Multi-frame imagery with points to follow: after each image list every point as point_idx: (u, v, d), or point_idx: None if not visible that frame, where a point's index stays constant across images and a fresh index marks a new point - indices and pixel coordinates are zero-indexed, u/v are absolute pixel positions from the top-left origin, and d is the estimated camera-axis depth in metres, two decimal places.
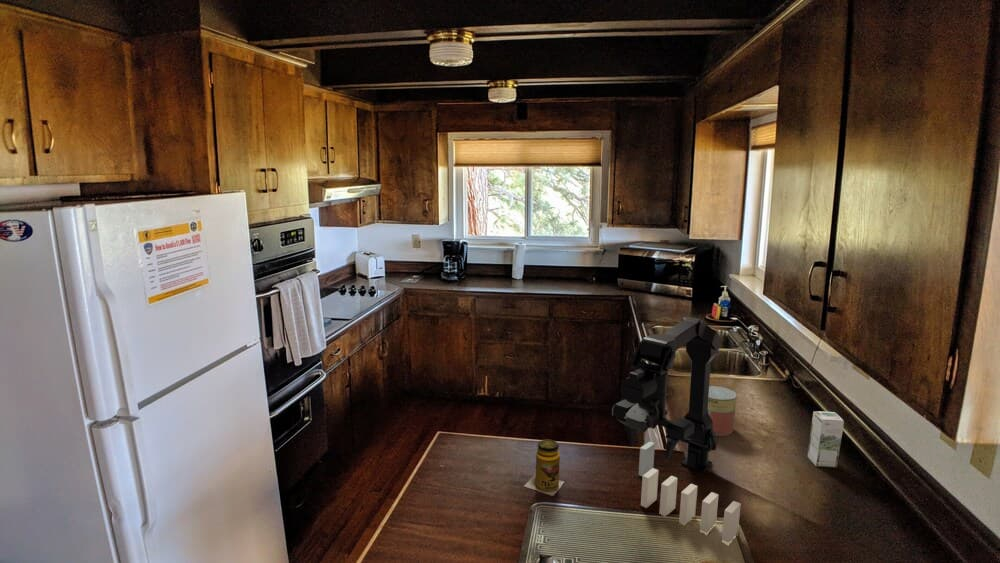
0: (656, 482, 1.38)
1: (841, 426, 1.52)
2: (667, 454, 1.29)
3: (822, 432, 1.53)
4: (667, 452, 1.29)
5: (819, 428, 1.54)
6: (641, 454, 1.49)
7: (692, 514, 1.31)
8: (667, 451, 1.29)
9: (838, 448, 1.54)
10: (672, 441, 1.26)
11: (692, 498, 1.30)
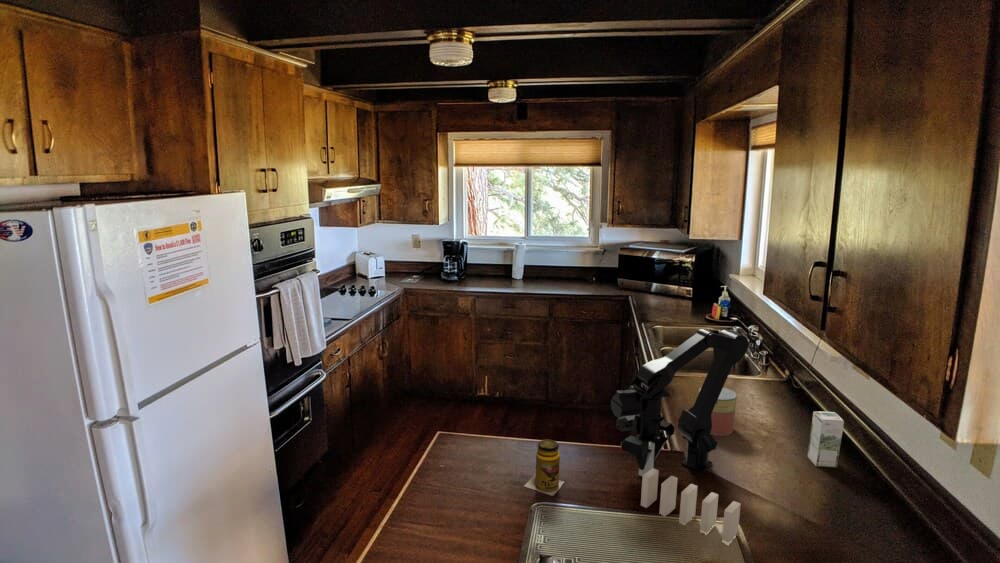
0: (656, 482, 1.38)
1: (841, 426, 1.52)
2: None
3: (822, 432, 1.53)
4: None
5: (819, 428, 1.54)
6: None
7: (692, 514, 1.31)
8: None
9: (838, 448, 1.54)
10: None
11: (692, 498, 1.30)
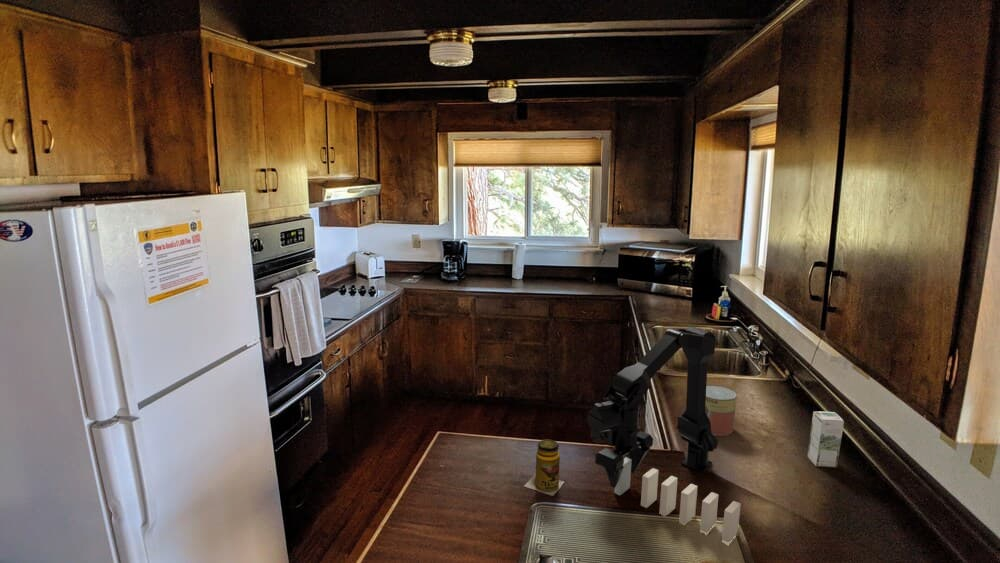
0: (656, 482, 1.38)
1: (841, 426, 1.52)
2: None
3: (822, 432, 1.53)
4: None
5: (819, 428, 1.54)
6: None
7: (692, 514, 1.31)
8: None
9: (838, 448, 1.54)
10: None
11: (692, 498, 1.30)
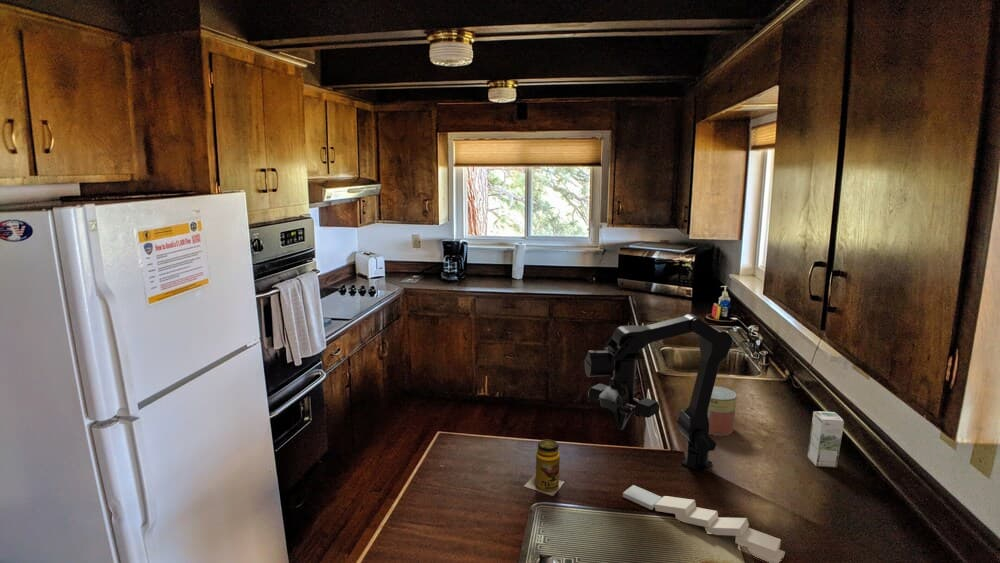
0: None
1: (841, 426, 1.52)
2: (621, 425, 1.49)
3: (822, 432, 1.53)
4: (621, 423, 1.49)
5: (819, 428, 1.54)
6: (645, 504, 1.36)
7: None
8: (621, 423, 1.49)
9: (838, 448, 1.54)
10: (625, 413, 1.47)
11: None
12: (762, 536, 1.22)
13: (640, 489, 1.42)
